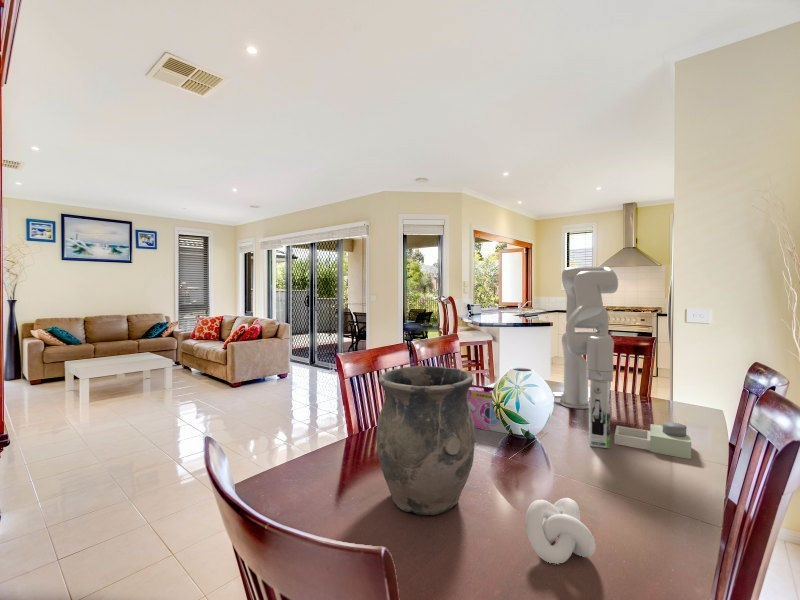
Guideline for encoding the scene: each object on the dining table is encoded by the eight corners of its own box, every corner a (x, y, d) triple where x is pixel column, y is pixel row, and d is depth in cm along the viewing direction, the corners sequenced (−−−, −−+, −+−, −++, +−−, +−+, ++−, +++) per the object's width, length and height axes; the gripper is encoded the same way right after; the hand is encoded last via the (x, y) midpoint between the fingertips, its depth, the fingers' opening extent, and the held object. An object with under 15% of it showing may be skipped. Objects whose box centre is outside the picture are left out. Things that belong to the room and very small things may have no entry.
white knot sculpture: (524, 526, 82) (525, 484, 81) (587, 537, 78) (588, 493, 78) (525, 563, 71) (526, 514, 71) (599, 577, 67) (599, 525, 67)
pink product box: (533, 430, 137) (533, 392, 136) (528, 438, 130) (528, 397, 130) (468, 419, 149) (468, 383, 149) (460, 425, 142) (460, 388, 142)
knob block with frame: (614, 445, 124) (614, 421, 124) (616, 433, 134) (617, 411, 134) (691, 459, 113) (691, 433, 113) (687, 445, 123) (688, 421, 123)
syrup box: (589, 446, 123) (590, 400, 122) (588, 439, 128) (588, 395, 128) (610, 449, 121) (610, 402, 120) (607, 442, 126) (608, 397, 126)
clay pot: (380, 476, 104) (380, 363, 103) (467, 477, 103) (467, 364, 102) (372, 527, 81) (371, 384, 81) (482, 529, 81) (483, 385, 80)
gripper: (610, 381, 115) (610, 442, 115) (615, 371, 129) (614, 425, 130) (582, 378, 119) (582, 437, 119) (590, 369, 133) (589, 421, 134)
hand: (599, 430), depth 124 cm, fingers closed on syrup box, 6 cm apart
